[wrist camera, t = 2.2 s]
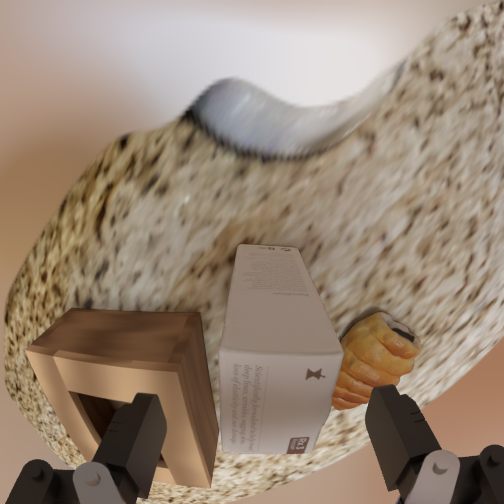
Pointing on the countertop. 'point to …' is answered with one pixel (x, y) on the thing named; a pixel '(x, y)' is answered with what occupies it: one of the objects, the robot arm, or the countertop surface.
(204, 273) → the countertop surface
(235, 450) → the skincare box
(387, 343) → the pastry
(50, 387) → the slot box
